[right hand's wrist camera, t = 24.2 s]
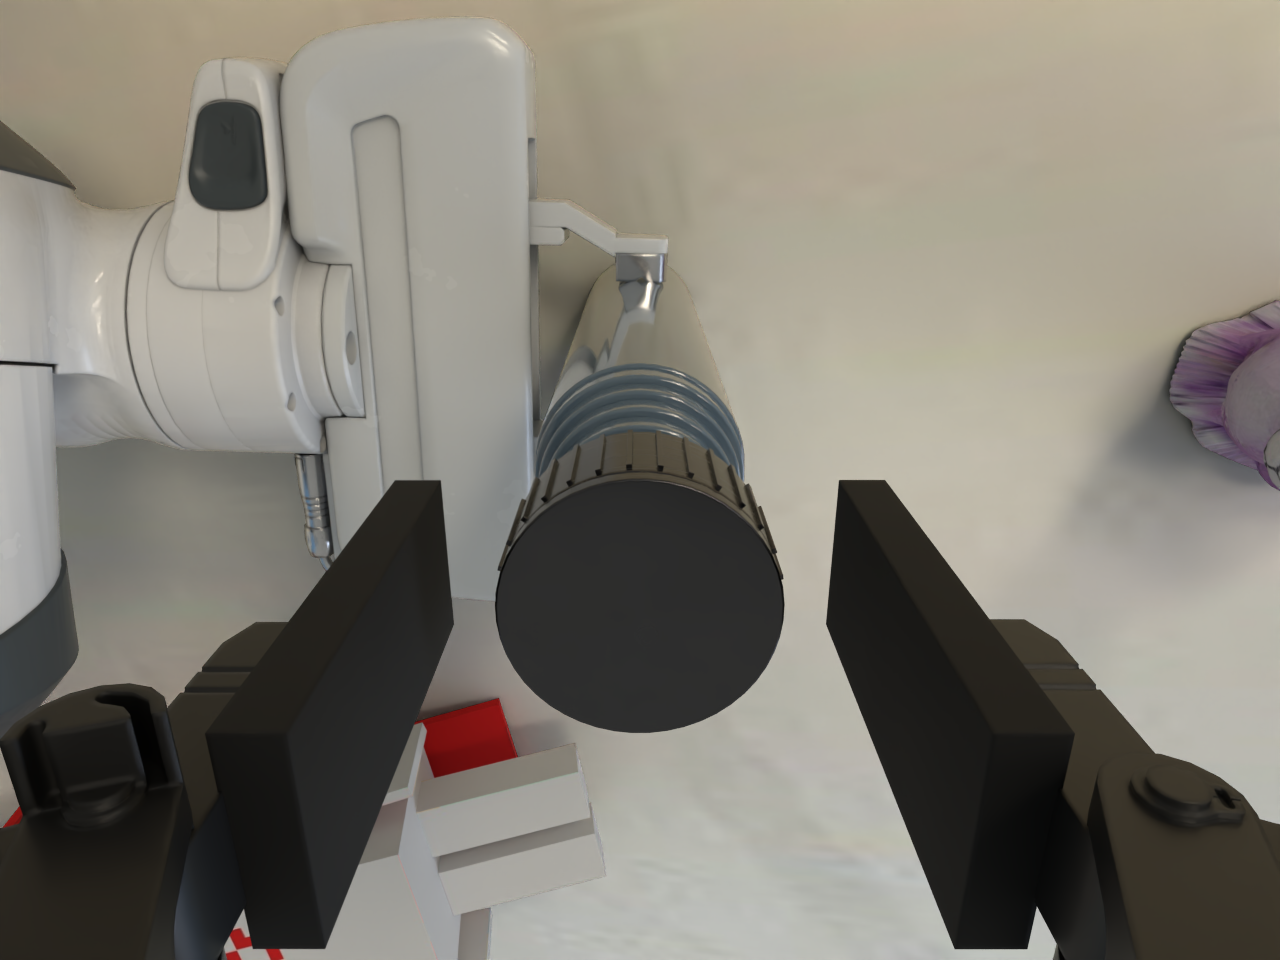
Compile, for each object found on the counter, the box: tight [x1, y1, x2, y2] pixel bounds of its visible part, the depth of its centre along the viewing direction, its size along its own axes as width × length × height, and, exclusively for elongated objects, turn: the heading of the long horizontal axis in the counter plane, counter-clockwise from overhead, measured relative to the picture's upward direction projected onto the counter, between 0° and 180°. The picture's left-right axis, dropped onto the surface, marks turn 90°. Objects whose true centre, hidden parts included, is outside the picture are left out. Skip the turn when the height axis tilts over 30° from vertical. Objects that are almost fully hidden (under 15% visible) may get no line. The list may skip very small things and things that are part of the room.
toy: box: [3, 698, 606, 960], centre depth 41 cm, size 12×13×30 cm
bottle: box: [535, 264, 744, 482], centre depth 25 cm, size 5×5×25 cm
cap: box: [495, 430, 784, 733], centre depth 14 cm, size 4×4×2 cm
